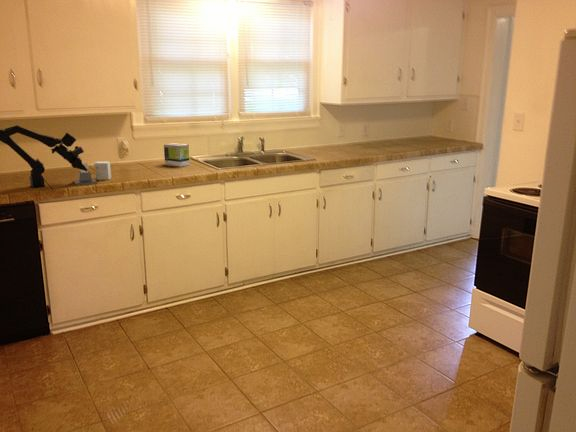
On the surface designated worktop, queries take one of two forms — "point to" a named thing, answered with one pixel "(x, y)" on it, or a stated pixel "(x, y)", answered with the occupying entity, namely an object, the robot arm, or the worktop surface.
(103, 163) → the small box
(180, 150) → the tea box
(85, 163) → the white tall block
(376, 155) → the worktop surface
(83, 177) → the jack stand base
